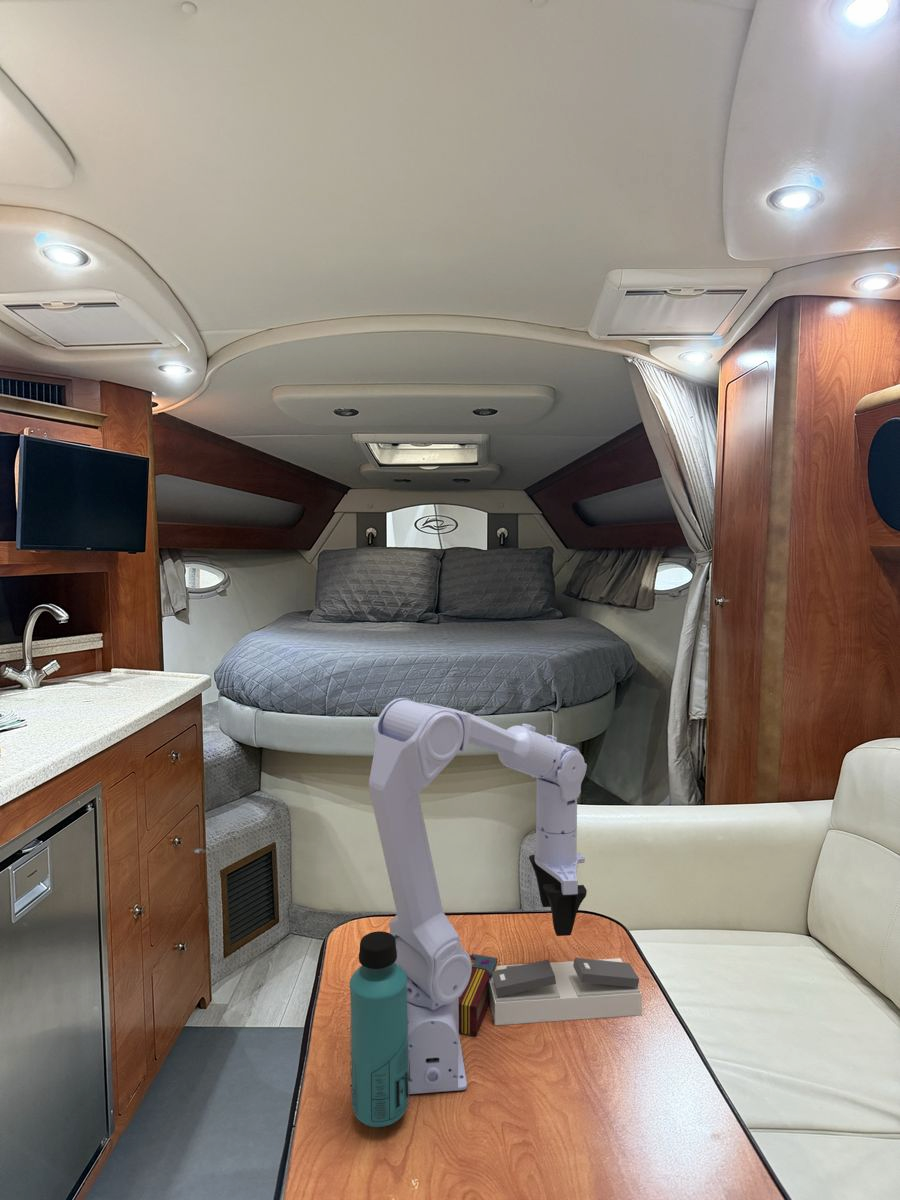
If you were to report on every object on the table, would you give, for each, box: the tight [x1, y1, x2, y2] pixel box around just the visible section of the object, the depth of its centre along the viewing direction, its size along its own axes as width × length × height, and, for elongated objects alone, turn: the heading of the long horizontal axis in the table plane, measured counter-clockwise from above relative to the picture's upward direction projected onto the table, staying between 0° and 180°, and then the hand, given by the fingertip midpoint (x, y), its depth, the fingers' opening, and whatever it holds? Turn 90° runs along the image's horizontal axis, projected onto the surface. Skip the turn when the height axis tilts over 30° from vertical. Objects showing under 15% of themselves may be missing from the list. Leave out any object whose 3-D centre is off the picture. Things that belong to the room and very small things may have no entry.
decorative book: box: [459, 953, 498, 1037], centre depth 91 cm, size 11×16×5 cm
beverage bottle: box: [348, 930, 410, 1128], centre depth 71 cm, size 6×7×20 cm
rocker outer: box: [573, 957, 640, 988], centre depth 89 cm, size 4×8×1 cm, turn 96°
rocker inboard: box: [492, 958, 556, 997], centre depth 88 cm, size 4×8×1 cm, turn 96°
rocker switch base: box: [488, 957, 643, 1026], centre depth 91 cm, size 8×20×3 cm, turn 96°
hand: (555, 919), depth 93 cm, fingers open, 7 cm apart
